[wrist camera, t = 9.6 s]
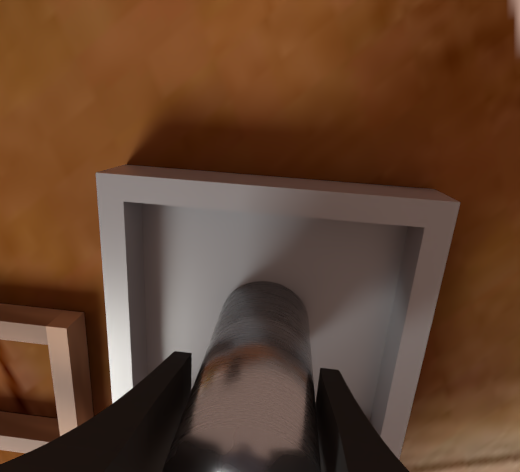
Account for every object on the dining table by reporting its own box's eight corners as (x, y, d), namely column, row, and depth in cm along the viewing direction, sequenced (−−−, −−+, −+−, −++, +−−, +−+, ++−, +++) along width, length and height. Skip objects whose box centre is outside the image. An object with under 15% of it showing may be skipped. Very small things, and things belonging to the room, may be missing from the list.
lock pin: (303, 363, 17) (313, 557, 10) (219, 354, 17) (162, 537, 10) (313, 285, 16) (332, 437, 8) (221, 276, 16) (159, 417, 9)
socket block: (95, 437, 21) (80, 460, 19) (-37, 419, 21) (-61, 441, 20) (84, 312, 18) (66, 328, 17) (-66, 296, 19) (-95, 310, 18)
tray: (381, 438, 19) (393, 483, 17) (137, 407, 20) (115, 446, 18) (434, 189, 15) (460, 202, 13) (125, 164, 16) (95, 172, 14)
